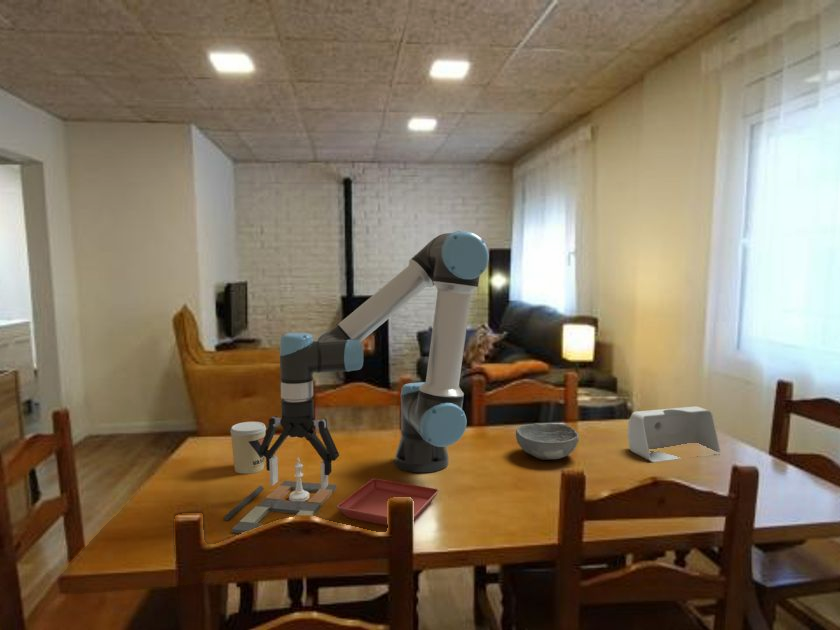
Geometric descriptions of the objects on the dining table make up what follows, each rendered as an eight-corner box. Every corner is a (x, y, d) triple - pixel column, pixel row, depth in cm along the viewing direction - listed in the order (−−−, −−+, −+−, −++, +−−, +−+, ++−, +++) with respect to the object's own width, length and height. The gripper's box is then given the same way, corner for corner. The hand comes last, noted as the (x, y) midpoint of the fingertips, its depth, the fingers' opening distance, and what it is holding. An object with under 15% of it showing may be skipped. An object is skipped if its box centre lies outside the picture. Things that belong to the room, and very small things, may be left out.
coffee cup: (256, 476, 145) (255, 432, 144) (224, 473, 147) (223, 430, 146) (273, 463, 154) (272, 422, 153) (242, 461, 156) (241, 420, 155)
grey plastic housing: (681, 438, 177) (683, 400, 176) (721, 454, 162) (723, 413, 161) (615, 445, 171) (616, 406, 169) (650, 463, 155) (652, 420, 154)
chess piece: (291, 503, 129) (290, 462, 128) (286, 495, 133) (285, 455, 132) (312, 499, 131) (311, 459, 130) (306, 491, 135) (305, 452, 134)
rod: (259, 489, 137) (259, 484, 137) (264, 489, 137) (264, 485, 136) (223, 521, 120) (222, 515, 120) (228, 521, 120) (227, 516, 120)
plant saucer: (373, 489, 138) (372, 476, 137) (440, 501, 131) (440, 488, 130) (335, 520, 121) (335, 506, 121) (409, 536, 114) (409, 521, 114)
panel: (336, 487, 138) (336, 484, 138) (294, 538, 112) (294, 534, 112) (284, 483, 140) (284, 480, 140) (231, 532, 115) (231, 528, 115)
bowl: (509, 462, 155) (509, 435, 155) (522, 443, 172) (522, 418, 171) (574, 471, 149) (575, 443, 148) (581, 451, 165) (582, 425, 164)
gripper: (351, 396, 131) (352, 483, 133) (257, 392, 136) (259, 475, 138) (341, 404, 124) (342, 495, 126) (241, 399, 128) (244, 487, 130)
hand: (299, 485), depth 132 cm, fingers open, 12 cm apart
